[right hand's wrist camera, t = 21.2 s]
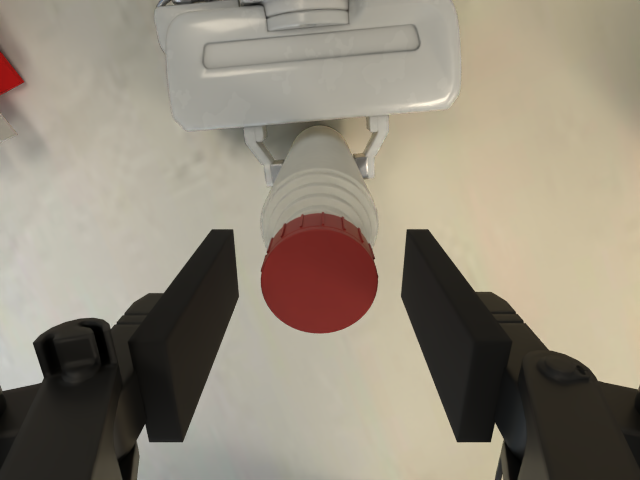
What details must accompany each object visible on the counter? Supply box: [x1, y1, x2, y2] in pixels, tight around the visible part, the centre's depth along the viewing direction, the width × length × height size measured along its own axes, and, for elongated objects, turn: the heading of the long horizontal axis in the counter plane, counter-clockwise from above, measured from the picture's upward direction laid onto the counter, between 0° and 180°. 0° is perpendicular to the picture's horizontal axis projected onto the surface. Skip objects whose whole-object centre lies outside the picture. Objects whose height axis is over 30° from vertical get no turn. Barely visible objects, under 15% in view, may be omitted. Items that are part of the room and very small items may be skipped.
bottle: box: [261, 125, 379, 250], centre depth 25 cm, size 6×6×25 cm
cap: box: [261, 212, 378, 333], centre depth 14 cm, size 4×4×2 cm
